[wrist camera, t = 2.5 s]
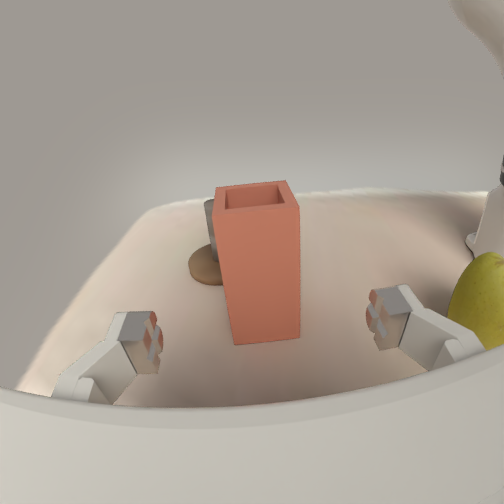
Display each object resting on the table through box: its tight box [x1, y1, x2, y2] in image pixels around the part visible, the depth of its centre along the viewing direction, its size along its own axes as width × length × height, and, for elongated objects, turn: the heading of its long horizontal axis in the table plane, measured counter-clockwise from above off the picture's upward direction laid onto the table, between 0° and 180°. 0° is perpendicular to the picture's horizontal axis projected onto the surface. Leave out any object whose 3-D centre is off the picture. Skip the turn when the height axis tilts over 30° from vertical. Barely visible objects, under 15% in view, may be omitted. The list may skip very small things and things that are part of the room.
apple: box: [448, 252, 504, 351], centre depth 19 cm, size 8×8×10 cm
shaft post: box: [189, 199, 223, 285], centre depth 34 cm, size 8×8×8 cm
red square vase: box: [212, 181, 300, 345], centre depth 25 cm, size 6×6×12 cm
